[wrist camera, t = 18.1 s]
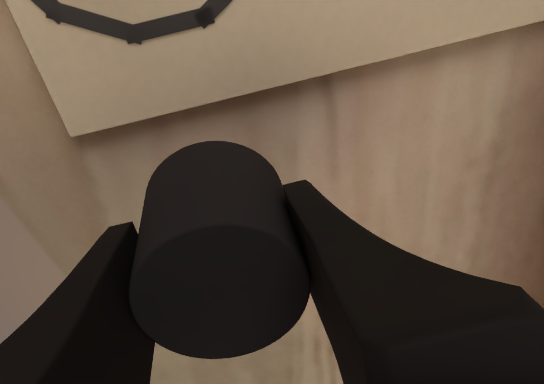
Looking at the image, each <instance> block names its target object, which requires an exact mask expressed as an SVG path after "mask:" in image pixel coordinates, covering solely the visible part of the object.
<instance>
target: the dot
mask: <svg viewBox="0 0 544 384" xmlns="http://www.w3.org/2000/svg"><path fill="white" fill-rule="evenodd" d="M310 284H311V283H310V274H309V271H308V268H307V264H306V261H305V258H304V255H303V251H302V248H301V245H300V242H299V240H298V237H297V234H296V232H295V229H294V226H293V223H292V220H291V217H290V213H289V210H288V207H287V204H286V200H285V195H284V190H283V187H282V183H281V180H280V178H279V176H278V174H277V172H276V171H275V169H274V168H273V166H272V165H271V164H270V163H269V162H268V161H267V160H266V159H265V158H264V157H263V156H261V155H260V154H258V153H257V152H255V151H254V150H252V149H250V148H247V147H245V146H242V145H239V144H236V143H231V142H226V141H206V142H201V143H196V144H193V145H189V146H187V147H184V148H182V149H180V150H178V151H176V152H175V153H173V154H171V155H170V156H169V157H168V158H166V159H165V160H164V161H163V162H162V163H161V164H160V165H159V166H158V167H157V169H156V170H155V172H154V173H153V174H152V176H151V178H150V180H149V183H148V186H147V189H146V195H145V200H144V206H143V211H142V217H141V222H140V228H139V233H138V239H137V245H136V250H135V256H134V261H133V267H132V272H131V278H130V284H129V290H128V294H129V304H130V309H131V311H132V314H133V316H134V319H135V320H136V322H137V324H138V325H139V327H140V328H141V329H142V330H143V332H144V333H145V334H146V335H147V336H148V337H150V338H151V339H152V340H153V341H155V342H156V343H158V344H159V345H161V346H162V347H164V348H166V349H168V350H170V351H173V352H176V353H178V354H182V355H186V356H190V357H196V358H205V359H223V358H232V357H237V356H242V355H245V354H249V353H252V352H255V351H257V350H260V349H262V348H264V347H266V346H268V345H270V344H272V343H273V342H275V341H277V340H278V339H280V338H281V337H282V336H283V335H285V334H286V333H287V332H288V331H289V330H290V329H291V328H292V327H293V326H294V325H295V324H296V322H297V321H298V320H299V319H300V317H301V315H302V314H303V312H304V310H305V307H306V305H307V302H308V299H309V294H310Z"/></svg>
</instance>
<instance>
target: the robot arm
mask: <svg viewBox="0 0 544 384" xmlns="http://www.w3.org/2000/svg"><path fill="white" fill-rule="evenodd" d="M282 186H283V190H284V195H285V200H286V204H287V207H288V210H289V213H290V217H291V220H292V223H293V226H294V229H295V232H296V234H297V237H298V240H299V242H300V245H301V248H302V251H303V255H304V258H305V261H306V264H307V268H308V271H309V274H310V283H311V284H310V293H311V296H312V298H313V301H314V303H315V306H316V308H317V311H318V313H319V316H320V318H321V321H322V323H323V326H324V328H325V331H326V333H327V335H328V338H329V340H330V343H331V345H332V348H333V351H334V354H335V357H336V360H337V363H338V366H339V369H340V373H341V376H342V380H343V383H344V384H544V309H543V308H542V307H541V306H540V305H539V304H538V303H537V302H536V301H535V300H534V299H533V298H531V297H530V296H529V295H528V294H527V293H526V292H525V291H524V290H523V289H522V288H521V287H519V286H515V285H510V284H506V283H502V282H498V281H493V280H489V279H485V278H481V277H476V276H473V275H469V274H466V273H463V272H460V271H456V270H453V269H450V268H447V267H444V266H441V265H438V264H436V263H433V262H430V261H428V260H425V259H423V258H421V257H418V256H416V255H413V254H411V253H409V252H406V251H404V250H402V249H400V248H398V247H396V246H394V245H392V244H390V243H388V242H386V241H385V240H383V239H381V238H379V237H378V236H376V235H374V234H373V233H371V232H370V231H368V230H367V229H365V228H364V227H362V226H361V225H359V224H358V223H356V222H355V221H354V220H352V219H351V218H349V217H348V216H347V215H346V214H344V213H343V212H342V211H340V210H339V209H338V208H337V207H335V206H334V205H333V204H332V203H331V202H330V201H328V200H327V199H326V198H325V197H324V196H323V195H322V194H321V193H320V192H319V191H318V190H317V189H316V188H315V187H314V186H313V185H312V184H311V183H310V182H308V181H307V180H301V181H297V182H293V183H289V184H285V185H282ZM137 239H138V233H137V231H136V229H135V227H134V224H133V222H128V223H124V224H119V225H115V226H111V227H109V228H108V229H107V230H106V231H105V232H104V233H103V234H102V235H101V237H100V238H99V239H98V240H97V241H96V243H95V244H94V245H93V246H92V247H91V249H90V250H89V251H88V252H87V254H86V255H85V256H84V257H83V258H82V260H81V261H80V262H79V263H78V264H77V266H76V267H75V268H74V269H73V270H72V272H71V273H70V274H69V275H68V276H67V277H66V279H65V280H64V281H63V282H62V283H61V284H60V285H59V286H58V287H57V289H56V290H55V291H54V292H53V293H52V294H51V295H50V296H49V297H48V298H47V300H46V301H45V302H44V303H43V304H42V305H41V306H40V307H39V308H38V309H37V310H36V311H35V312H34V313H33V314H32V315H31V316H30V317H29V318H28V319H27V320H26V321H25V322H24V323H23V324H22V325H21V326H20V327H19V328H18V329H16V330H15V331H14V332H13V333H12V334H11V335H10V336H9V337H8V338H7V339H5V340H4V341H3V342H2V343H1V344H0V384H150V377H151V369H152V361H153V354H154V346H155V341H153V340H152V339H151V338H150V337H148V336H147V335H146V334H145V333H144V332H143V330H142V329H141V328H140V327H139V325H138V324H137V322H136V320H135V319H134V316H133V314H132V311H131V309H130V304H129V294H128V290H129V284H130V278H131V272H132V267H133V261H134V256H135V250H136V245H137Z"/></svg>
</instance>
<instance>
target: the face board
mask: <svg viewBox="0 0 544 384" xmlns="http://www.w3.org/2000/svg"><path fill="white" fill-rule="evenodd" d="M5 2H6V4H7V6H8V8H9V10H10V12H11V14H12V16H13V18H14V20H15V22H16V25H17V27H18V29H19V31H20V33H21V35H22V37H23V39H24V41H25V43H26V45H27V47H28V50H29V52H30V54H31V56H32V58H33V60H34V62H35V64H36V66H37V68H38V70H39V72H40V75H41V77H42V79H43V81H44V83H45V85H46V87H47V89H48V91H49V93H50V95H51V97H52V100H53V102H54V104H55V106H56V108H57V110H58V112H59V114H60V116H61V118H62V120H63V122H64V125H65V127H66V129H67V131H68V133H69V135H70V137H76V136H80V135H84V134H88V133H92V132H96V131H100V130H104V129H108V128H112V127H116V126H120V125H124V124H128V123H132V122H136V121H141V120H145V119H149V118H153V117H157V116H161V115H165V114H169V113H173V112H177V111H181V110H185V109H189V108H193V107H197V106H201V105H205V104H209V103H213V102H217V101H221V100H225V99H230V98H234V97H238V96H242V95H246V94H250V93H254V92H258V91H262V90H266V89H270V88H274V87H278V86H282V85H286V84H290V83H294V82H298V81H302V80H306V79H310V78H314V77H319V76H323V75H327V74H331V73H335V72H339V71H343V70H347V69H351V68H355V67H359V66H363V65H367V64H371V63H375V62H379V61H383V60H387V59H391V58H395V57H399V56H403V55H408V54H412V53H416V52H420V51H424V50H428V49H432V48H436V47H440V46H444V45H448V44H452V43H456V42H460V41H464V40H468V39H472V38H476V37H480V36H484V35H488V34H492V33H497V32H501V31H505V30H509V29H513V28H517V27H521V26H525V25H529V24H533V23H537V22H541V21H544V0H5Z"/></svg>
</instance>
